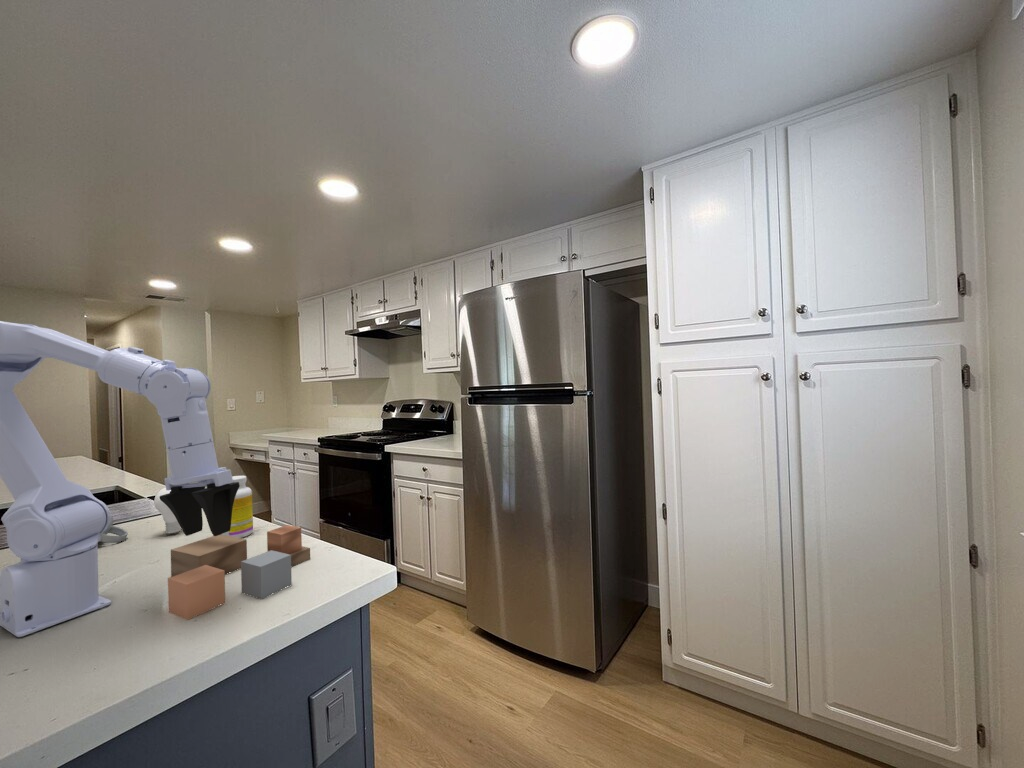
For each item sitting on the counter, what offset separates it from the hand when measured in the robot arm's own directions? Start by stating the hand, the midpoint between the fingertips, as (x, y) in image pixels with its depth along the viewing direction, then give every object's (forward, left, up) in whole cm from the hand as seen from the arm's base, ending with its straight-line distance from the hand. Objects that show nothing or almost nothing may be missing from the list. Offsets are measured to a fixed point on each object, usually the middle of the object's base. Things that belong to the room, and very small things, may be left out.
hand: (207, 533), depth 64 cm
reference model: (+14, +2, -10) cm, 18 cm away
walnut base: (+6, +11, -10) cm, 17 cm away
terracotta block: (-2, -1, -10) cm, 11 cm away
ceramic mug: (+3, +50, -11) cm, 51 cm away
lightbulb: (+14, +41, -10) cm, 45 cm away
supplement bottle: (+19, +26, -10) cm, 34 cm away
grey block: (+6, -5, -10) cm, 13 cm away
